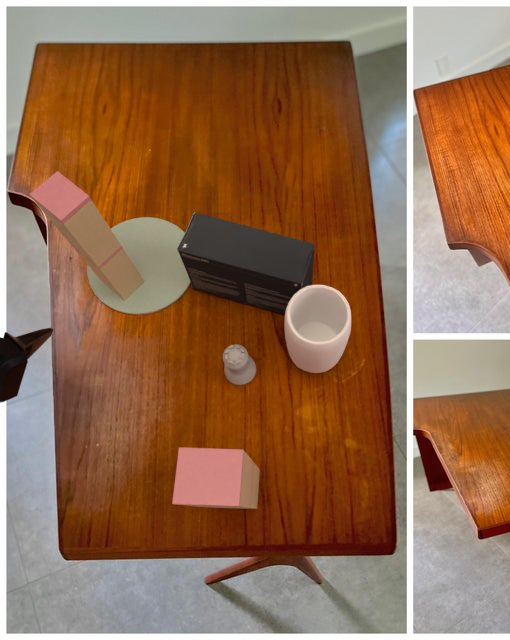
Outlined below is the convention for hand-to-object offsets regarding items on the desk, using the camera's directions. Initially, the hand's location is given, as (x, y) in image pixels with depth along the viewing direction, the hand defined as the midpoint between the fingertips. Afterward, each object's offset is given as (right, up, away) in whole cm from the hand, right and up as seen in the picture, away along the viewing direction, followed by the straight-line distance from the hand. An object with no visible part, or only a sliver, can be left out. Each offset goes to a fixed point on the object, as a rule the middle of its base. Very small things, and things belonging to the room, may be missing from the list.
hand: (24, 308), depth 63 cm
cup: (+34, -6, +14) cm, 37 cm away
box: (+25, +4, +17) cm, 30 cm away
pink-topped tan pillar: (+6, +4, +15) cm, 17 cm away
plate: (+8, +7, +17) cm, 20 cm away
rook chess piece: (+24, -9, +12) cm, 28 cm away
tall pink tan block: (+24, -23, +6) cm, 34 cm away
